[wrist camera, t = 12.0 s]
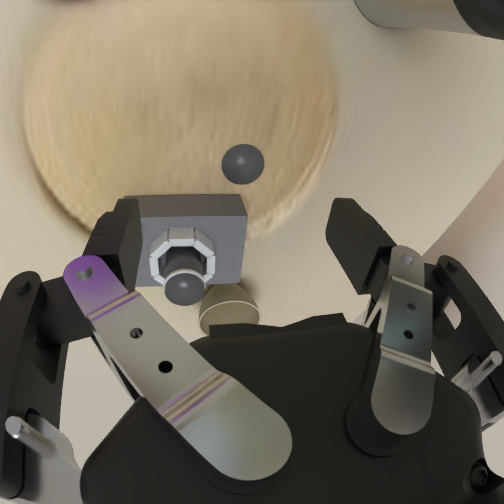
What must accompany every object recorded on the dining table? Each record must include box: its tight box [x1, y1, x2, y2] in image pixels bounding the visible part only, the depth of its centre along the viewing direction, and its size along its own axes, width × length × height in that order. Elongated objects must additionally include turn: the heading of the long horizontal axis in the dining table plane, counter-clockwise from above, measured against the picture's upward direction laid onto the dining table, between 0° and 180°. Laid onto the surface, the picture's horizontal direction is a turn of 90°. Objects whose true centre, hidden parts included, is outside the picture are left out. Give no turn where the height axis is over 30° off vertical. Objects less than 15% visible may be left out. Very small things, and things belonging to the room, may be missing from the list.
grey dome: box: [222, 144, 264, 184], centre depth 38 cm, size 6×6×1 cm
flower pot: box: [198, 283, 261, 336], centre depth 48 cm, size 10×10×7 cm
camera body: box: [123, 194, 248, 287], centre depth 39 cm, size 16×11×8 cm
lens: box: [164, 246, 206, 306], centre depth 35 cm, size 5×5×7 cm
